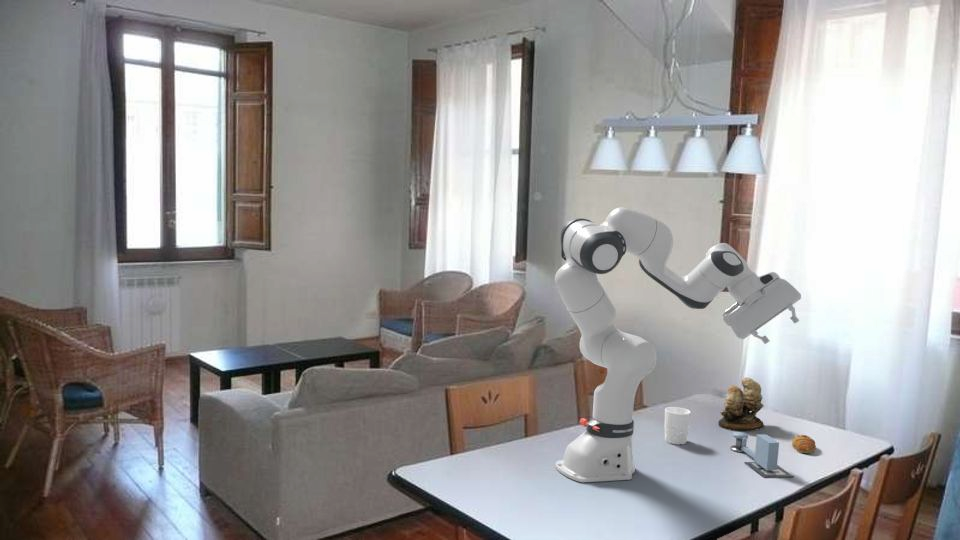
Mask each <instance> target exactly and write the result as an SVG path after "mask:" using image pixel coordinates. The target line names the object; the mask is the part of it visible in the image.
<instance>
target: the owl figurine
mask: <svg viewBox="0 0 960 540" xmlns="http://www.w3.org/2000/svg"><path fill="white" fill-rule="evenodd" d="M741 386H742V389H741V388H740V387H738V385H737V386H736V385H731V386H729V387H728V389H727V391H726V395H725V397H724V403H723V407H724V409H721V410H720V414H721V416H722V418H721V419H719V420H718V426H719V427H720V426H721V427H720V428H722V427H723V429H725V428H726V430H729V429H730V430H729V431H733V430H735V431H734V432H752V431H751V430H753V431H757V430H756V429H758V430H760V428H761V429H762V428H763V427H764V422H763V421H762V420H761V419H760V418H759V417H757V414H758V412H759V411H760V410H761V409H762V408H763V407H764V404H763V403H762V400H763V395H762V387H761V385H760V383H758V382H757V381H755V380H754V379H752V378H751V377H747V376H745V377H743V378H742V379H741Z"/></svg>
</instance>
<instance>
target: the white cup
mask: <svg viewBox="0 0 960 540" xmlns="http://www.w3.org/2000/svg"><path fill="white" fill-rule="evenodd" d="M690 422H691V410H689V409H687V408H684V407H679V406H669V407H665V409H664V427H663V428H664V441H665V442H666V443H668V444H672V445H679V446H680V444H682V445H685V444H686V443H687V439H688V434H689V427H690Z"/></svg>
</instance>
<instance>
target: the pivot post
mask: <svg viewBox="0 0 960 540" xmlns="http://www.w3.org/2000/svg"><path fill="white" fill-rule="evenodd" d="M741 445H742V439H738V438H735V445H731V446H730V450H731V451H732V452H735V453H740V454H747V453H746V452H744V451H743V450H742V449H741Z"/></svg>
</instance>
